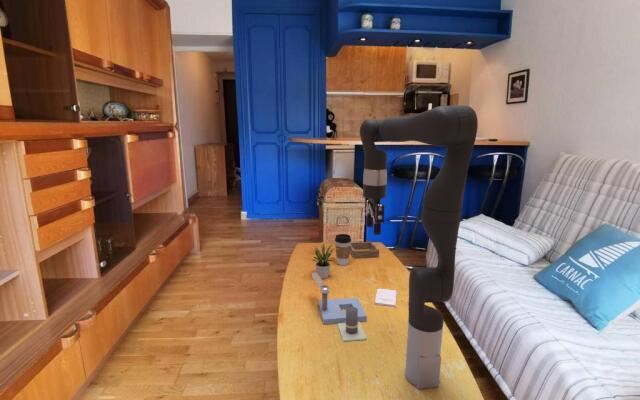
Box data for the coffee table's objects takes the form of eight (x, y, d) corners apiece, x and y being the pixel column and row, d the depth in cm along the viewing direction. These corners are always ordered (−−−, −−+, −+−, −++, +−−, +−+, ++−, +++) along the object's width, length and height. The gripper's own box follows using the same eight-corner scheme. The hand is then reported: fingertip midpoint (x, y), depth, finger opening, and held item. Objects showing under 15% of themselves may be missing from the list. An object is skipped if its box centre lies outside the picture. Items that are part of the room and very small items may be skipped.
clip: (318, 275, 145) (318, 271, 144) (330, 292, 130) (331, 288, 130) (309, 276, 144) (309, 273, 143) (321, 294, 129) (321, 290, 129)
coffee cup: (332, 265, 178) (332, 237, 175) (336, 259, 186) (337, 232, 183) (348, 267, 176) (349, 238, 172) (352, 261, 184) (352, 233, 180)
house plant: (343, 271, 171) (343, 239, 167) (337, 284, 157) (338, 249, 154) (315, 268, 174) (314, 237, 170) (307, 280, 161) (306, 247, 157)
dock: (366, 321, 128) (367, 299, 126) (323, 324, 126) (323, 302, 124) (357, 302, 142) (357, 282, 140) (318, 304, 140) (318, 284, 138)
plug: (359, 333, 120) (360, 312, 118) (346, 335, 119) (346, 314, 117) (356, 326, 124) (356, 305, 122) (343, 327, 123) (343, 307, 121)
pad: (366, 339, 117) (366, 338, 117) (343, 341, 116) (343, 340, 116) (359, 323, 127) (359, 321, 127) (337, 324, 126) (337, 323, 126)
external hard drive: (396, 293, 150) (395, 308, 138) (377, 291, 152) (374, 305, 140) (396, 290, 150) (395, 304, 138) (377, 288, 151) (374, 302, 140)
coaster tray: (378, 257, 188) (379, 250, 188) (353, 258, 187) (353, 251, 186) (371, 248, 202) (371, 241, 201) (347, 249, 200) (348, 242, 199)
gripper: (393, 186, 107) (391, 236, 110) (379, 178, 120) (377, 224, 124) (369, 186, 106) (367, 237, 109) (358, 179, 119) (357, 224, 123)
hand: (373, 230), depth 117 cm, fingers open, 8 cm apart
